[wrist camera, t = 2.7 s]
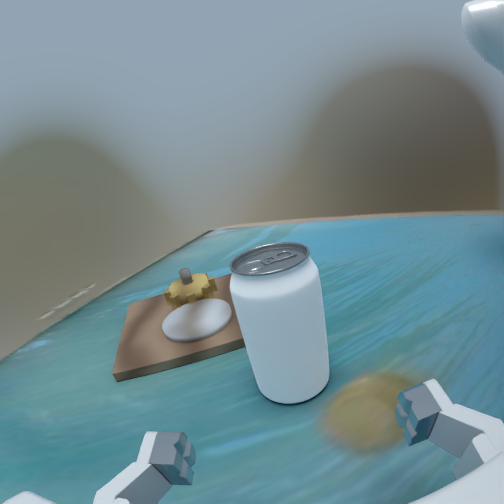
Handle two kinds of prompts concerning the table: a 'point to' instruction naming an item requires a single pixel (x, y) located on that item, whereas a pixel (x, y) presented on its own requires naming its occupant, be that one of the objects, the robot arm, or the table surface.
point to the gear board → (178, 327)
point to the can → (282, 320)
